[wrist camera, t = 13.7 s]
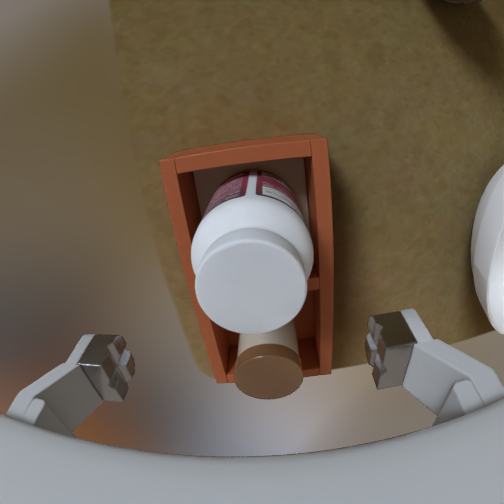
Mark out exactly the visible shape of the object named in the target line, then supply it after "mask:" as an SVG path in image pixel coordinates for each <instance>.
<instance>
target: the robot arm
mask: <svg viewBox="0 0 504 504" xmlns="http://www.w3.org/2000/svg"><path fill="white" fill-rule="evenodd" d="M367 327H368V329H369V332H370V333H369V334H368V335H367V336H366V342H365V349H366V356H367V360H368V363H369V365H371V366H372V367H373V373H372V375H373V378H374V381H375V384H376V387H377V389H384V388H388V387H394V386H399V385H402V387H403V388H405V389H406V390H407V391H408V392H409V393H411V394H412V395H413V396H414V397H415V398H417V399H418V400H419V401H420V402H422V403H423V404H424V405H425V406H426V407H427V408H429V409H430V410H431V411H432V412H433V413H434V414H436V415H437V416H438V417H437V419H436V420H435V422H434V424H433V425H432V427H429V428H425V429H422V430H419V431H415V432H412V433H408V434H404V435H400V436H397V437H392V438H388V439H384V440H380V441H375V442H370V443H366V444H361V445H355V446H350V447H344V448H338V449H332V450H324V451H317V452H308V453H298V454H287V455H272V456H249V457H248V456H247V457H217V456H193V455H179V454H167V453H158V452H149V451H142V450H135V449H129V448H122V447H116V446H111V445H106V444H101V443H96V442H92V441H87V440H83V439H79V438H77V437H76V436H75V435H74V434H73V433H72V432H73V431H74V430H75V429H76V428H77V427H78V426H79V425H80V424H81V423H82V422H83V421H84V420H85V419H86V418H87V417H88V416H89V415H90V414H91V413H92V412H93V411H94V410H95V409H96V408H97V407H98V406H99V405H100V404H101V403H102V402H103V400H106V401H118V402H123V401H124V398H125V396H126V393H127V391H128V385H127V382H128V381H130V380H131V379H132V378H133V375H134V372H135V362H134V358H133V356H132V354H131V353H130V352H129V351H128V350H126V349H125V347H126V342H125V340H124V338H123V337H122V336H120V335H101V334H97V335H95V334H94V335H93V334H86V335H83V336H82V338H81V340H80V341H79V343H78V344H77V346H76V347H75V349H74V350H73V352H72V354H71V355H70V357H69V358H68V360H67V362H66V363H62V364H61V365H59V366H58V367H56V368H54V369H53V370H51V371H50V372H49V373H47V374H45V375H44V376H42V377H41V378H40V379H38V380H37V381H35V382H34V383H32V384H31V385H29V386H28V387H26V388H25V389H23V390H22V391H20V392H19V393H18V395H17V396H16V398H15V399H14V401H13V403H12V405H11V406H10V408H9V410H8V411H7V413H6V415H3V414H1V413H0V504H504V386H503V384H502V383H501V381H500V380H499V378H498V376H497V375H496V373H495V371H494V370H493V368H491V367H489V366H487V365H485V364H483V363H482V362H480V361H478V360H476V359H474V358H472V357H470V356H469V355H467V354H465V353H463V352H461V351H459V350H457V349H455V348H453V347H452V346H450V345H448V344H446V343H444V342H442V341H440V340H439V339H435V340H433V338H432V336H431V335H430V333H429V331H428V330H427V328H426V326H425V325H424V323H423V322H422V320H421V318H420V317H419V315H418V314H417V312H416V311H415V309H413V308H410V309H405V310H400V311H396V312H391V313H385V314H379V315H373V316H369V319H368V324H367Z"/></svg>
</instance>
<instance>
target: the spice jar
mask: <svg viewBox="0 0 504 504" xmlns="http://www.w3.org/2000/svg"><path fill="white" fill-rule="evenodd" d="M302 381H303V367H302V361H301V358H300V355H299V348H298V340H297V332H296V325H295V317H294V318H293V319H292V320H291V321H290V322H289V323H287V324H286V325H284V326H283V327H281V328H279V329H277V330H274V331H271V332H267V333H263V334H242V333H239V343H238V353H237V360H236V362H235V369H234V382H235V384H236V386H237V387H238V388H239V390H241V391H242V392H243V393H245V394H246V395H248V396H251V397H254V398H258V399H277V398H281V397H285V396H287V395H289V394H291V393H293V392H294V391H295V390H297V389H298V388H299V387H300V385H301V383H302Z"/></svg>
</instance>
